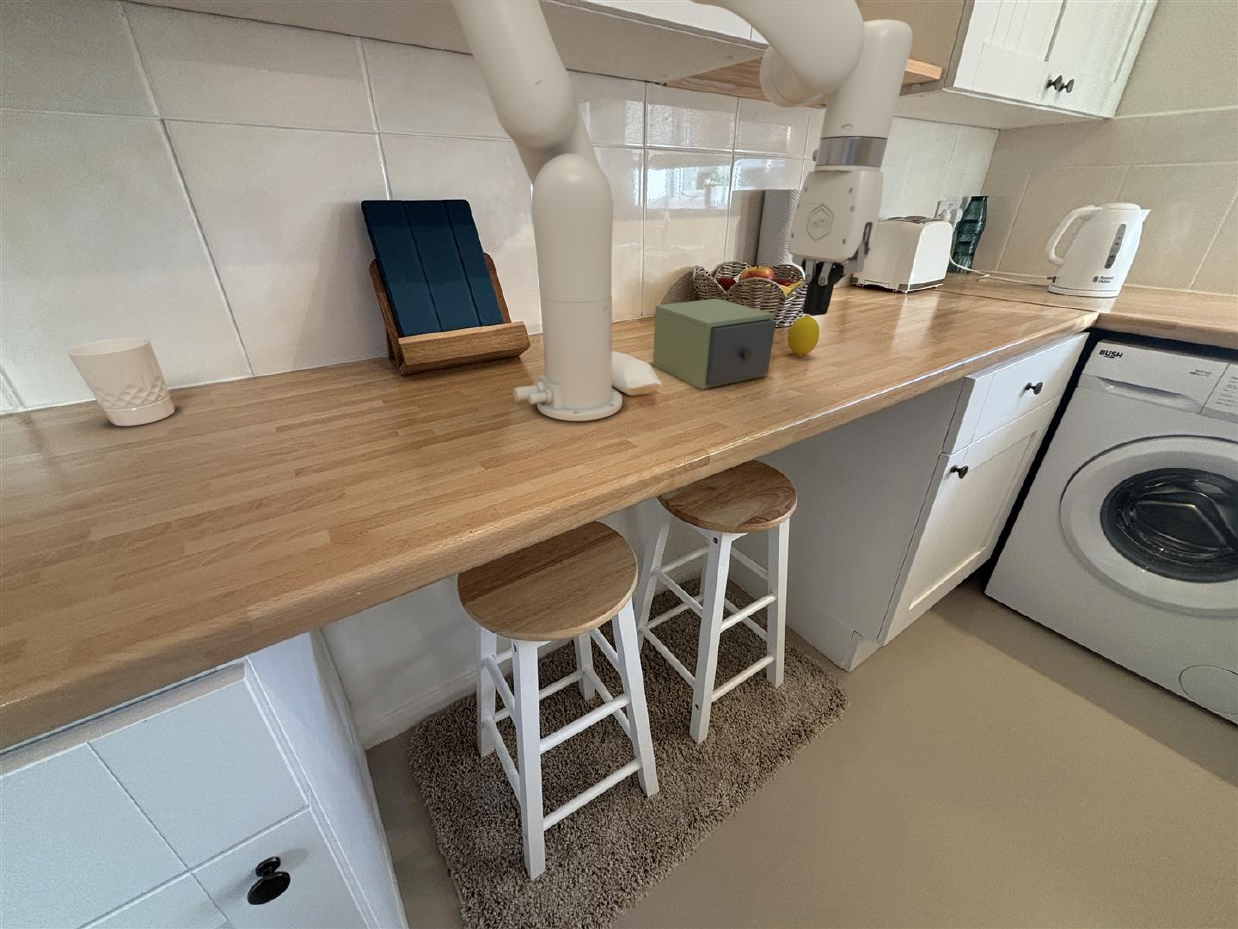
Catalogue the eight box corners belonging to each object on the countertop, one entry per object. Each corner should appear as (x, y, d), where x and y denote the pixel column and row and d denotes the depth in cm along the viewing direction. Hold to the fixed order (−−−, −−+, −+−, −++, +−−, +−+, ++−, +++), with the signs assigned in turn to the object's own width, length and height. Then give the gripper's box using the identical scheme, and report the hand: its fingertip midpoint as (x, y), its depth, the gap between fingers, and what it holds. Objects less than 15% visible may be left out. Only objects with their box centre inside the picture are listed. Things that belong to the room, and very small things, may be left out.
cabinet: (764, 376, 85) (774, 313, 80) (701, 389, 79) (708, 322, 74) (711, 354, 96) (716, 298, 91) (652, 364, 90) (655, 305, 85)
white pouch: (639, 410, 71) (642, 372, 69) (595, 386, 80) (596, 351, 77) (671, 402, 74) (674, 366, 72) (625, 380, 83) (627, 347, 80)
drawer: (772, 375, 83) (781, 322, 78) (714, 388, 77) (720, 331, 73) (716, 353, 94) (721, 306, 90) (662, 362, 88) (665, 312, 84)
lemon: (810, 353, 98) (818, 311, 94) (817, 361, 93) (826, 318, 89) (782, 352, 98) (789, 311, 94) (787, 360, 93) (795, 317, 89)
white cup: (189, 403, 73) (158, 335, 68) (168, 423, 66) (133, 350, 62) (122, 410, 70) (86, 340, 65) (94, 432, 64) (52, 357, 59)
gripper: (780, 158, 63) (756, 305, 72) (884, 154, 52) (840, 328, 61) (820, 162, 67) (792, 302, 76) (926, 158, 55) (879, 323, 64)
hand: (814, 313), depth 68 cm, fingers closed
